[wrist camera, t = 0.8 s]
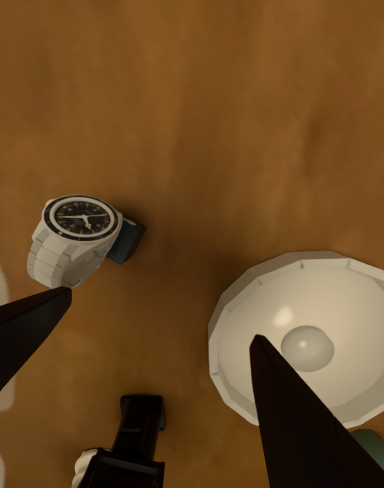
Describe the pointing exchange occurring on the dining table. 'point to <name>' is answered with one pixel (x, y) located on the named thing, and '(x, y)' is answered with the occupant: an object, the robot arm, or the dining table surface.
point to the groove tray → (305, 331)
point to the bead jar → (371, 444)
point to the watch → (79, 240)
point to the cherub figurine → (82, 466)
